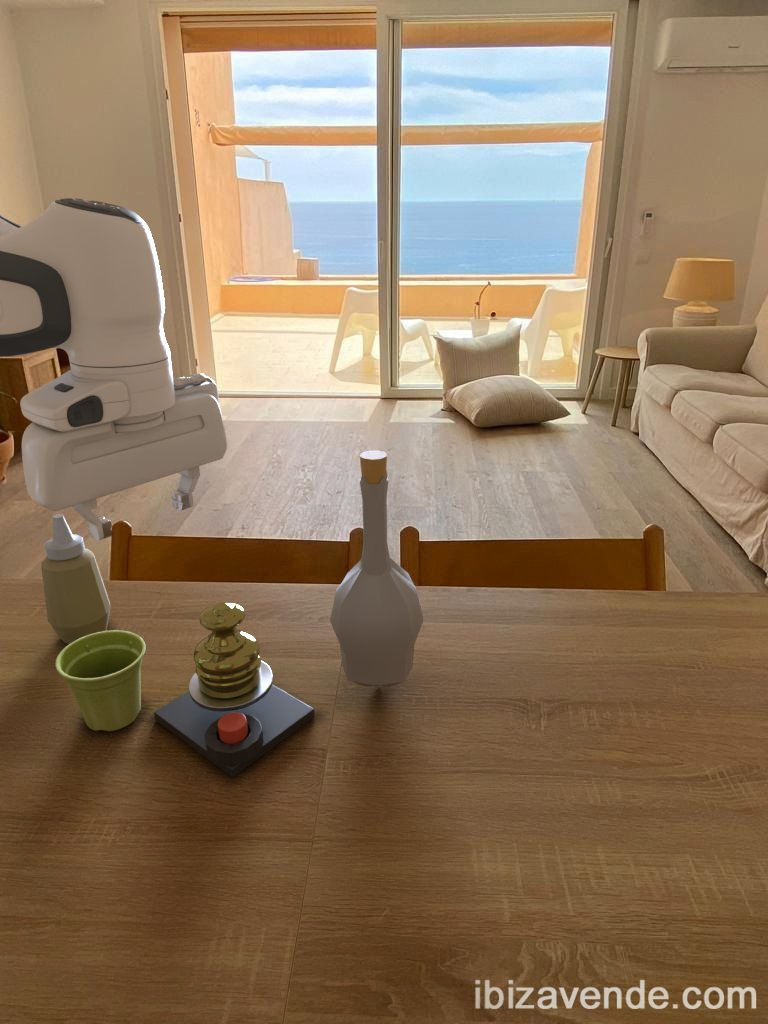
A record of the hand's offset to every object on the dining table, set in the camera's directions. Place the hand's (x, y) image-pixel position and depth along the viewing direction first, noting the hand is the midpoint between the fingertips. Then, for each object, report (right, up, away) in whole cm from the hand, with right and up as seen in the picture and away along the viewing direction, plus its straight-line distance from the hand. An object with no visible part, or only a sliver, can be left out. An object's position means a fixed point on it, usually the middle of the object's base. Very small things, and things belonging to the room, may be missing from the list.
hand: (144, 521), depth 71 cm
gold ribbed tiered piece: (+7, -19, +10) cm, 22 cm away
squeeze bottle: (-17, -16, +25) cm, 35 cm away
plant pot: (-7, -23, +10) cm, 26 cm away
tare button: (+9, -23, +3) cm, 24 cm away
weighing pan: (+7, -19, +10) cm, 23 cm away
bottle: (+24, -20, +14) cm, 35 cm away
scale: (+7, -23, +9) cm, 26 cm away
